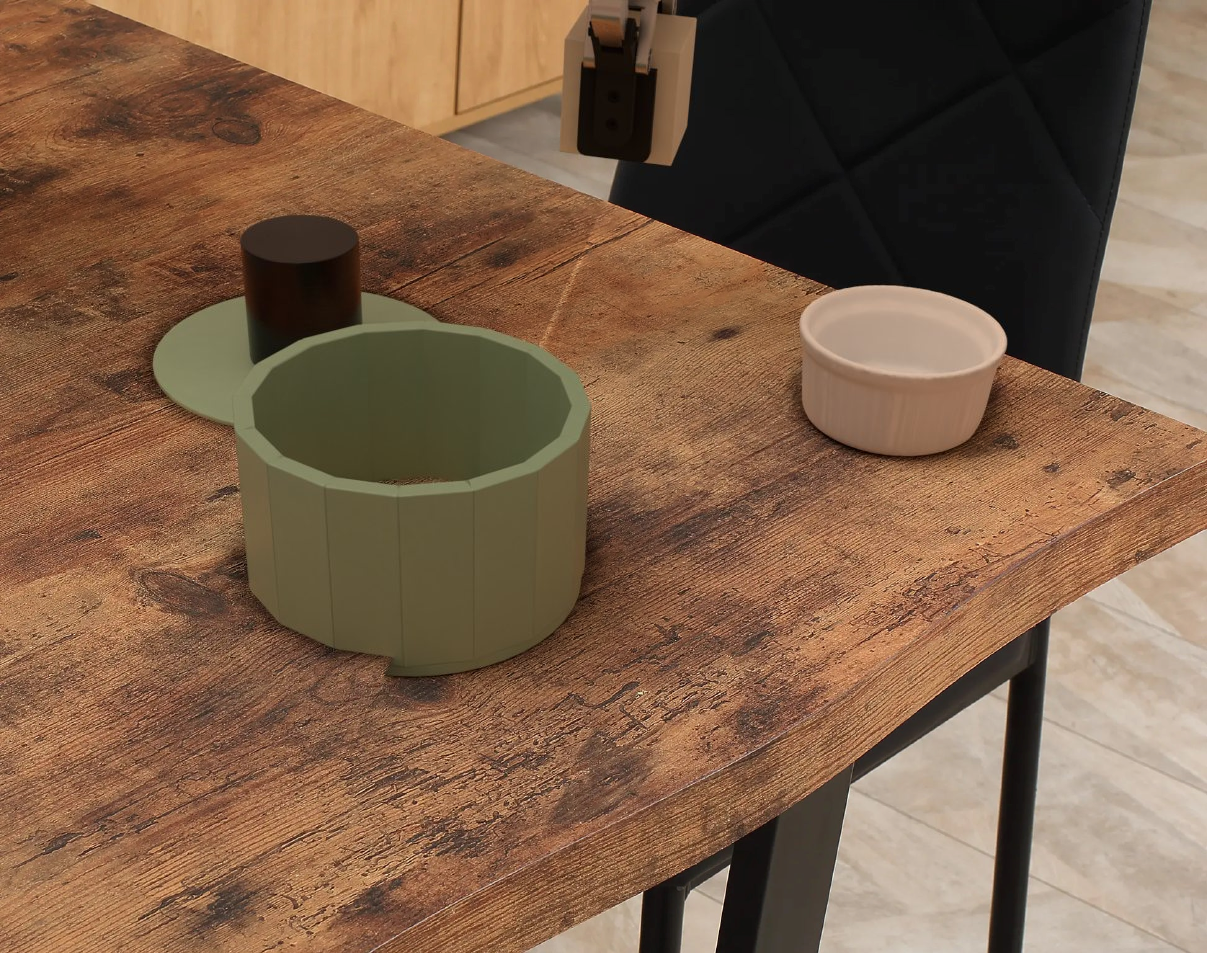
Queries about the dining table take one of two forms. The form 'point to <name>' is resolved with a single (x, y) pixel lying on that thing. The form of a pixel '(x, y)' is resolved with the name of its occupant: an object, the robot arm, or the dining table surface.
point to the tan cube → (671, 87)
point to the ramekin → (897, 368)
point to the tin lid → (271, 311)
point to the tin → (415, 492)
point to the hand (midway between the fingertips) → (624, 129)
